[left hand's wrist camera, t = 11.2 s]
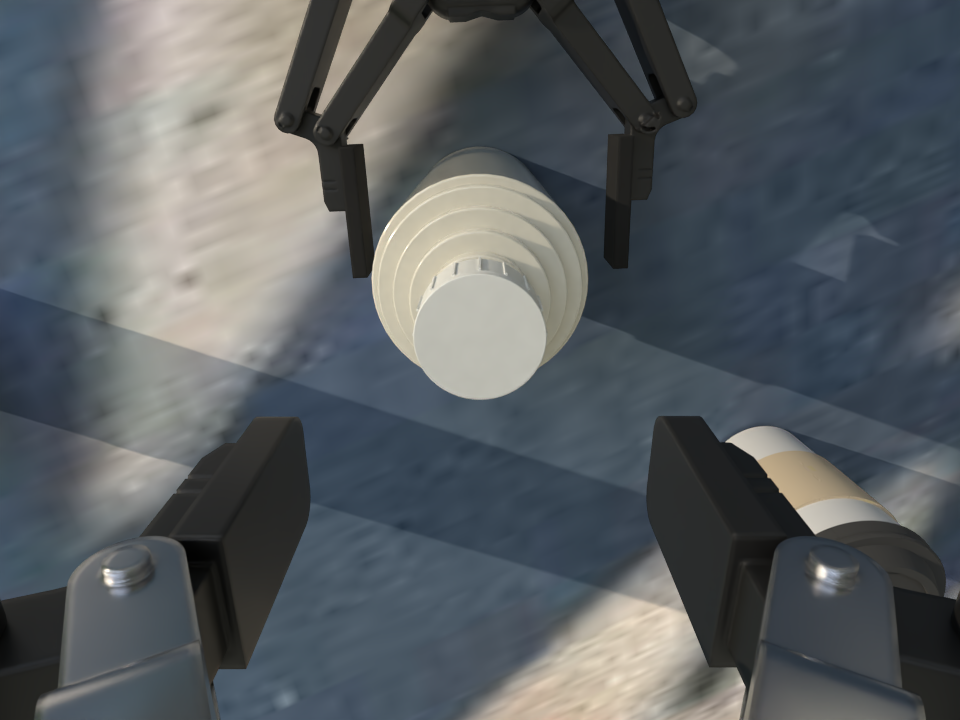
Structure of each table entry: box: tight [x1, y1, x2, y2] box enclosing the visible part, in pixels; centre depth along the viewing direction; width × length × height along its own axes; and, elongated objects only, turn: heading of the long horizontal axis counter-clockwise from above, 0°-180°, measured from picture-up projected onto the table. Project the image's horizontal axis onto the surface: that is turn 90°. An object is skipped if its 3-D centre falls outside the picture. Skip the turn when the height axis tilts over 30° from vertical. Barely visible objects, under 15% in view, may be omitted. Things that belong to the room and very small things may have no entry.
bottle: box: [372, 147, 588, 368], centre depth 29 cm, size 8×8×22 cm
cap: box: [412, 257, 548, 400], centre depth 19 cm, size 4×4×2 cm
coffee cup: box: [726, 426, 946, 597], centre depth 39 cm, size 9×9×15 cm
